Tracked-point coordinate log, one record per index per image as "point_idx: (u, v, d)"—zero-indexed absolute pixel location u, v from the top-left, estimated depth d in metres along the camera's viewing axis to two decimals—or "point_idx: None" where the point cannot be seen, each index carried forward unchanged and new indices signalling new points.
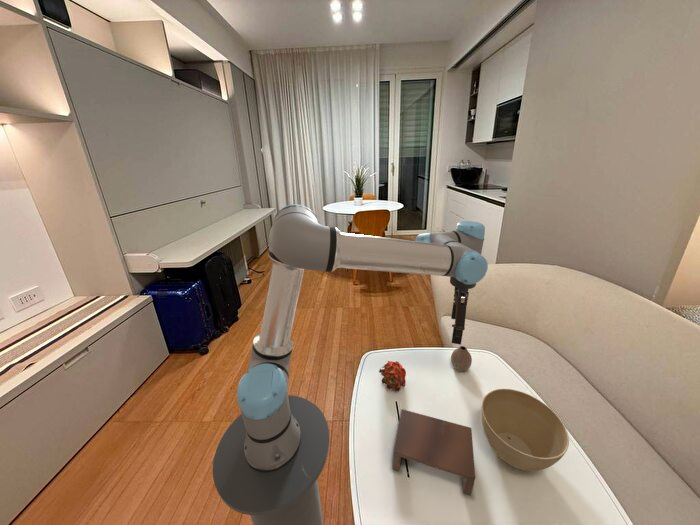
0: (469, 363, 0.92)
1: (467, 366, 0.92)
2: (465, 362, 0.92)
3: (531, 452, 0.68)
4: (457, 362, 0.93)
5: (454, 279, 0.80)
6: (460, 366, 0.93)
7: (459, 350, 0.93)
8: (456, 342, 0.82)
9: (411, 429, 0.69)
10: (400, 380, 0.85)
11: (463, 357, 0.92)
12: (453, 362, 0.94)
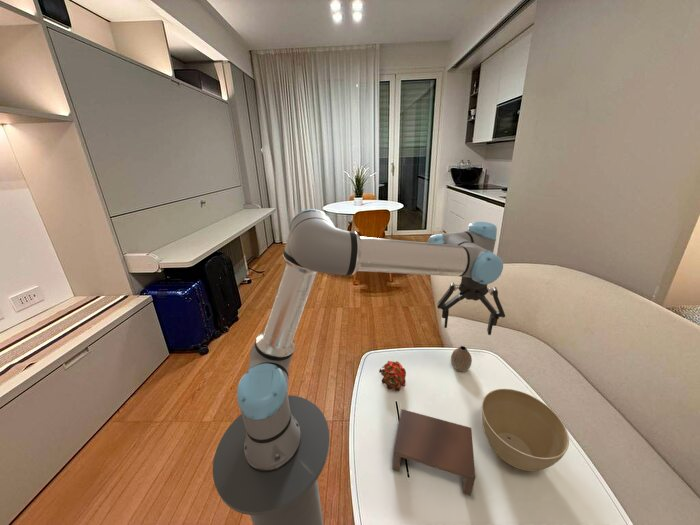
0: (469, 363, 0.92)
1: (467, 366, 0.92)
2: (465, 362, 0.92)
3: (531, 452, 0.68)
4: (457, 362, 0.93)
5: None
6: (460, 366, 0.93)
7: (459, 350, 0.93)
8: None
9: (411, 429, 0.69)
10: (400, 380, 0.85)
11: (463, 357, 0.92)
12: (453, 362, 0.94)
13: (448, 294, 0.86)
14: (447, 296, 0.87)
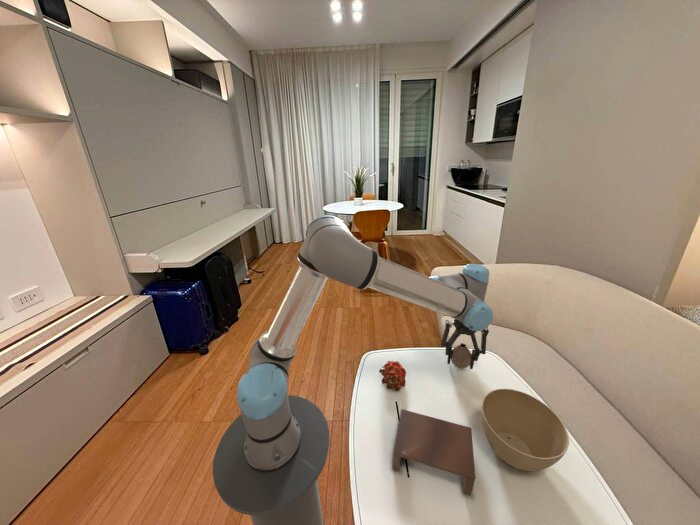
0: (469, 361, 0.92)
1: (467, 364, 0.92)
2: (465, 359, 0.91)
3: (531, 452, 0.68)
4: (457, 359, 0.92)
5: None
6: (459, 363, 0.92)
7: (459, 347, 0.93)
8: None
9: (411, 429, 0.69)
10: (400, 380, 0.85)
11: (463, 354, 0.91)
12: (453, 359, 0.94)
13: (446, 332, 0.92)
14: (446, 334, 0.92)
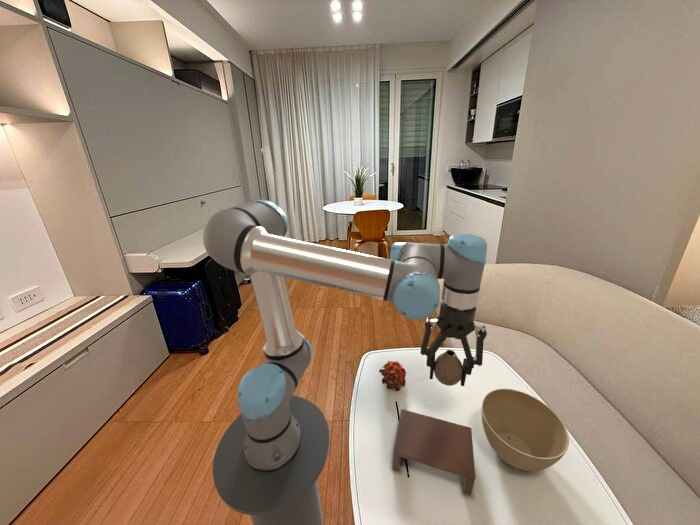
0: (459, 375, 0.65)
1: (456, 379, 0.65)
2: (453, 373, 0.64)
3: (531, 452, 0.68)
4: (442, 373, 0.65)
5: (471, 315, 0.58)
6: (446, 378, 0.65)
7: (445, 356, 0.65)
8: None
9: (411, 429, 0.69)
10: (400, 380, 0.85)
11: (451, 366, 0.64)
12: (437, 373, 0.66)
13: (426, 334, 0.64)
14: (426, 337, 0.65)
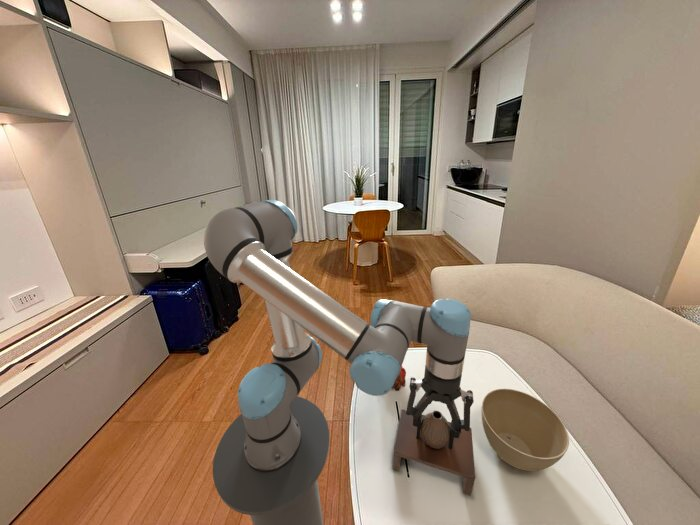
0: (446, 439, 0.62)
1: (443, 443, 0.62)
2: (440, 438, 0.61)
3: (531, 452, 0.68)
4: (428, 437, 0.62)
5: (456, 384, 0.55)
6: (432, 442, 0.62)
7: (431, 418, 0.62)
8: None
9: (411, 429, 0.69)
10: (400, 380, 0.85)
11: (437, 430, 0.61)
12: (423, 435, 0.64)
13: (411, 396, 0.62)
14: (411, 399, 0.62)
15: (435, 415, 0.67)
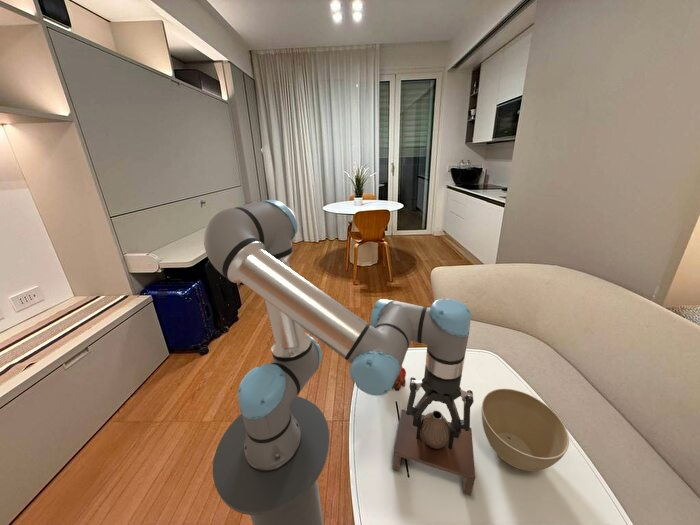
0: (446, 439, 0.62)
1: (443, 443, 0.62)
2: (440, 438, 0.61)
3: (531, 452, 0.68)
4: (428, 437, 0.62)
5: (456, 384, 0.55)
6: (432, 442, 0.62)
7: (431, 418, 0.62)
8: None
9: (411, 429, 0.69)
10: (400, 380, 0.85)
11: (437, 430, 0.61)
12: (423, 435, 0.64)
13: (411, 396, 0.62)
14: (411, 399, 0.62)
15: (435, 415, 0.67)
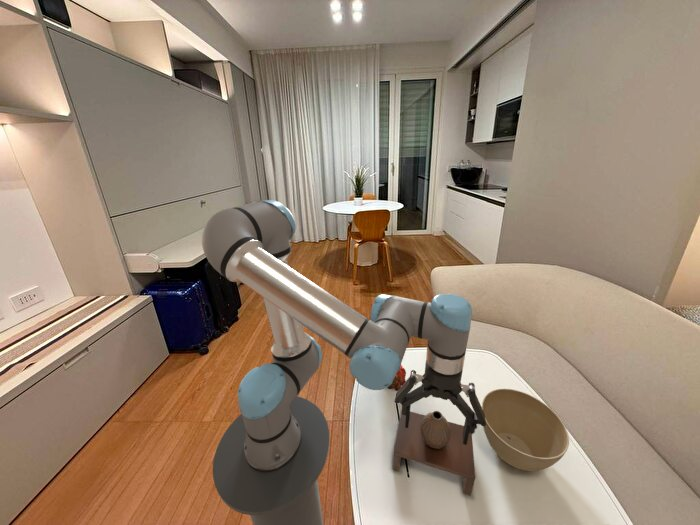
0: (446, 439, 0.62)
1: (443, 443, 0.62)
2: (440, 438, 0.61)
3: (531, 452, 0.68)
4: (428, 437, 0.62)
5: (456, 380, 0.54)
6: (432, 442, 0.62)
7: (431, 418, 0.62)
8: None
9: (411, 429, 0.69)
10: (400, 380, 0.85)
11: (437, 430, 0.61)
12: (423, 435, 0.64)
13: (407, 387, 0.61)
14: (406, 390, 0.61)
15: (435, 415, 0.67)
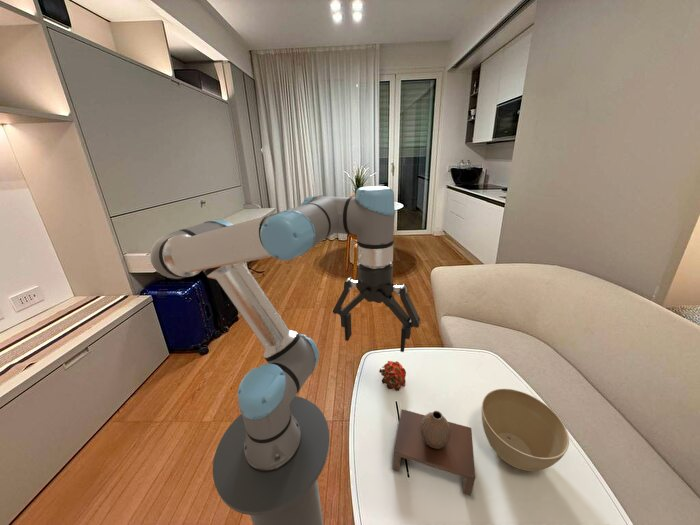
0: (446, 439, 0.62)
1: (443, 443, 0.62)
2: (440, 438, 0.61)
3: (531, 452, 0.68)
4: (428, 437, 0.62)
5: (384, 274, 0.54)
6: (432, 442, 0.62)
7: (431, 418, 0.62)
8: (404, 346, 0.62)
9: (411, 429, 0.69)
10: (400, 380, 0.85)
11: (437, 430, 0.61)
12: (423, 435, 0.64)
13: (343, 294, 0.61)
14: (342, 296, 0.61)
15: (435, 415, 0.67)
